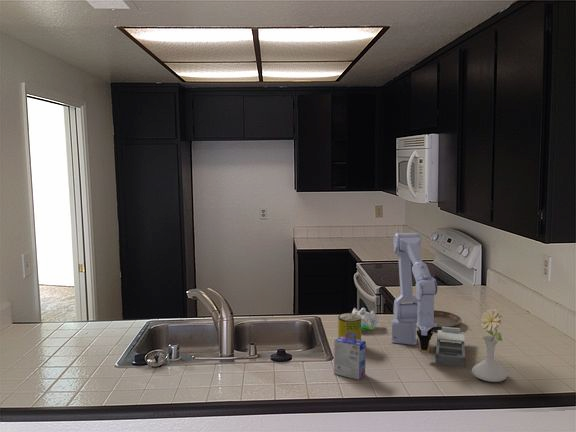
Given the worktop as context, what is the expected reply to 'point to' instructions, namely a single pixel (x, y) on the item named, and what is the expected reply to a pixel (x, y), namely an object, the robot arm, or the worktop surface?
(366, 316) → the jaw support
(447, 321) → the plant saucer
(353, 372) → the ink cartridge box
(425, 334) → the robot arm
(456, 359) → the housing
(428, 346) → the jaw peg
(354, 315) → the yellow tin can
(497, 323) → the flower in vase
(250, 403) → the worktop surface
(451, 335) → the lid
